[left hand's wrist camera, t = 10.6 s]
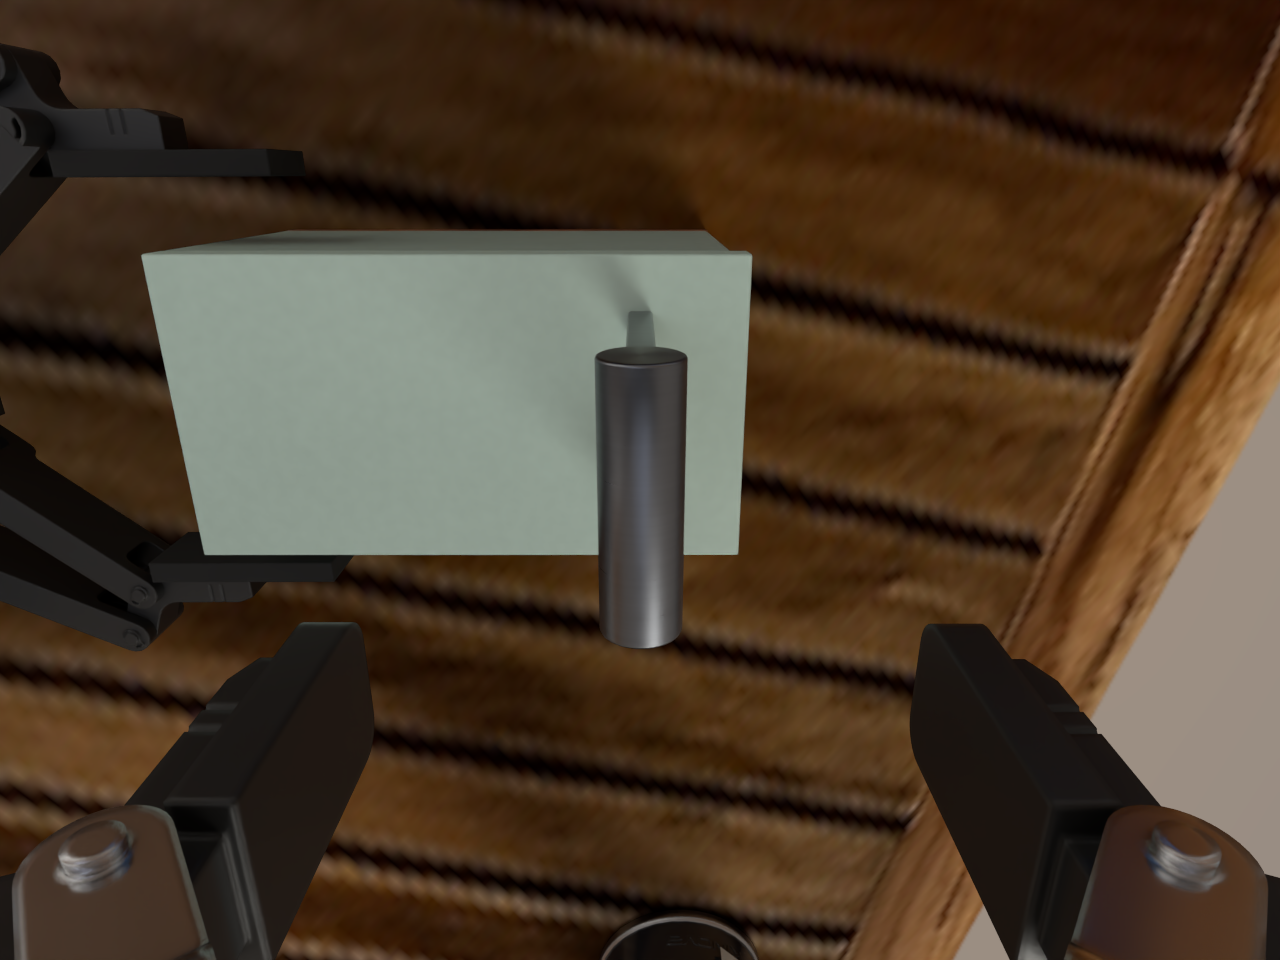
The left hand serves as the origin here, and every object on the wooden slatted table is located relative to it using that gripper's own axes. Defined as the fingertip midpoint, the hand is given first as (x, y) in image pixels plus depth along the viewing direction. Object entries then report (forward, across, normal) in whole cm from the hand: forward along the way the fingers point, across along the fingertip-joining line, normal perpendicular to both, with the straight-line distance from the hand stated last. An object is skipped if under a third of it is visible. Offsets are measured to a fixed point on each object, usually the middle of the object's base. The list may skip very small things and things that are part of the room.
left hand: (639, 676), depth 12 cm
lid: (+15, +5, 0) cm, 16 cm away
